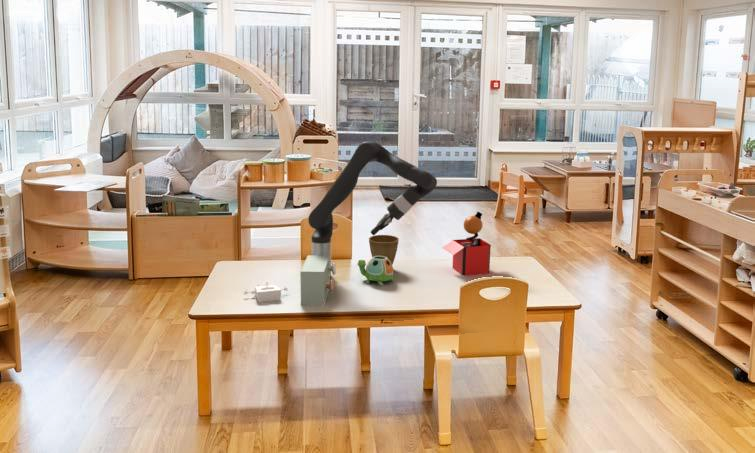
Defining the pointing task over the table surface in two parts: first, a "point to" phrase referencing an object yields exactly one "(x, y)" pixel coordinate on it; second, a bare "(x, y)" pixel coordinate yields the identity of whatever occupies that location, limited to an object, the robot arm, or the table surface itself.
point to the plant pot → (384, 246)
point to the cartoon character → (267, 292)
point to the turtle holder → (377, 269)
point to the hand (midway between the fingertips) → (372, 233)
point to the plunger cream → (332, 268)
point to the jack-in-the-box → (470, 250)
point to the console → (315, 280)
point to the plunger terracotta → (330, 286)
